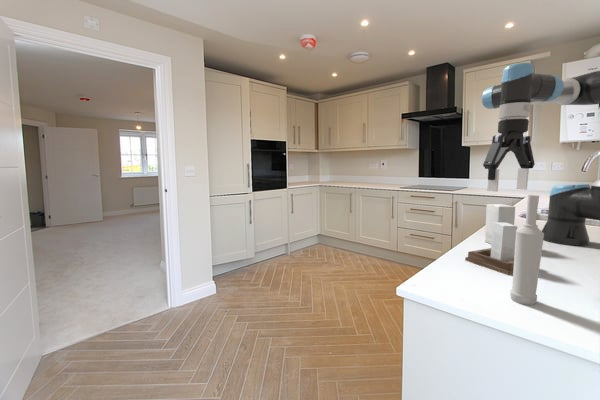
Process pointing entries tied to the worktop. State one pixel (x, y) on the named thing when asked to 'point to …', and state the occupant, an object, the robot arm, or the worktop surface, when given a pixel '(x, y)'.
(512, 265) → the brown square tray
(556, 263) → the worktop surface
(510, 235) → the skincare box
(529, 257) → the bottle
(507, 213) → the skincare box
